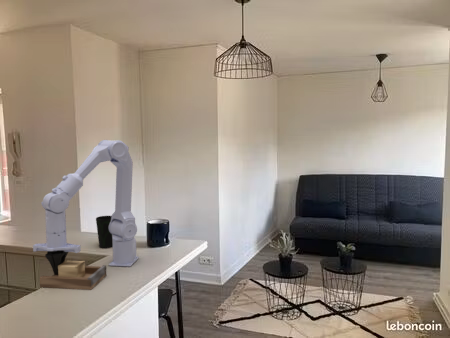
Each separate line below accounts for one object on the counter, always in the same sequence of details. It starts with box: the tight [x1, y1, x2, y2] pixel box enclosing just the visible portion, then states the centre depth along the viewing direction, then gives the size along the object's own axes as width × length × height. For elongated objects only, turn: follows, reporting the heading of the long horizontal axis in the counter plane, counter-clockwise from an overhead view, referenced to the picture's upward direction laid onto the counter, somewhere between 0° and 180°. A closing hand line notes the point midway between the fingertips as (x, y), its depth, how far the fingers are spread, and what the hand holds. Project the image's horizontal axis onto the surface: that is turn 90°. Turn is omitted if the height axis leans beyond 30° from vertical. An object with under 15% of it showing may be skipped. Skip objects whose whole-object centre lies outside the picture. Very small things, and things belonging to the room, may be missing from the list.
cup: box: [95, 215, 113, 249], centre depth 152 cm, size 8×8×12 cm
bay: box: [39, 264, 107, 291], centre depth 116 cm, size 11×16×4 cm
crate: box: [58, 259, 86, 277], centre depth 116 cm, size 5×6×5 cm
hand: (57, 273), depth 117 cm, fingers closed
